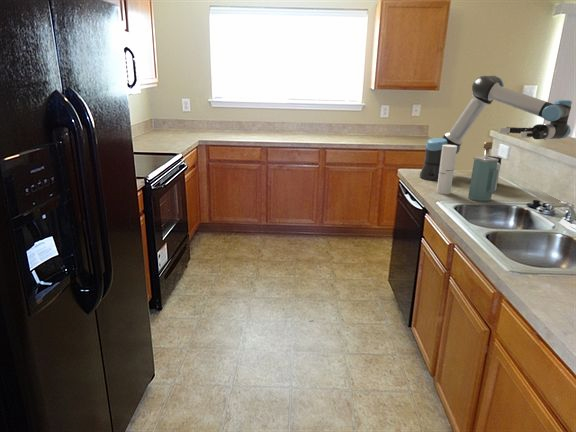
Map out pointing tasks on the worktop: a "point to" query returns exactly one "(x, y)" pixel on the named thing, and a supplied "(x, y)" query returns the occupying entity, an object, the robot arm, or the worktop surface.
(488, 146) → the plunger
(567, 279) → the worktop surface
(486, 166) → the press pot
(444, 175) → the cylindrical container
